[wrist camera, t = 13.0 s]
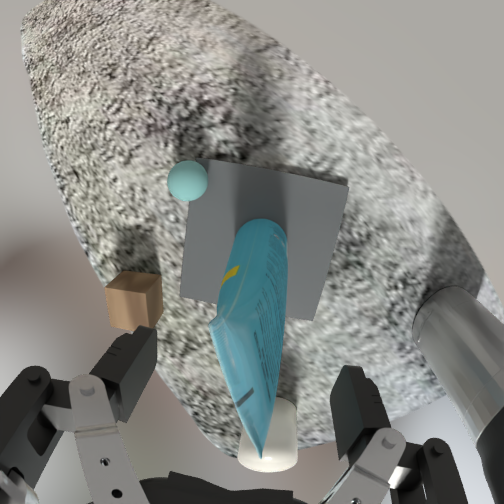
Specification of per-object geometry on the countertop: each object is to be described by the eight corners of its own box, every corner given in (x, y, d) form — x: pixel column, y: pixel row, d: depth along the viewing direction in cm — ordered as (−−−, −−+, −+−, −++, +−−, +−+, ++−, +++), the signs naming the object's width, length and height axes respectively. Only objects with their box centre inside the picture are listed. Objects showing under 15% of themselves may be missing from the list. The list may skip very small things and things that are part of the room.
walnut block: (145, 293, 25) (104, 287, 26) (149, 333, 27) (110, 326, 27) (161, 274, 30) (123, 270, 30) (163, 311, 31) (128, 306, 31)
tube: (224, 214, 27) (136, 338, 8) (275, 199, 26) (289, 306, 8) (248, 286, 29) (220, 462, 11) (296, 273, 28) (328, 448, 10)
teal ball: (214, 162, 25) (206, 164, 22) (208, 200, 26) (200, 207, 23) (177, 157, 25) (164, 158, 22) (172, 194, 26) (159, 200, 23)
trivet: (347, 186, 26) (349, 187, 25) (312, 318, 30) (312, 320, 30) (197, 157, 26) (196, 157, 25) (181, 293, 30) (179, 296, 30)
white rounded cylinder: (297, 395, 34) (298, 444, 26) (295, 426, 36) (296, 471, 28) (242, 396, 35) (234, 444, 27) (247, 426, 37) (240, 471, 29)
